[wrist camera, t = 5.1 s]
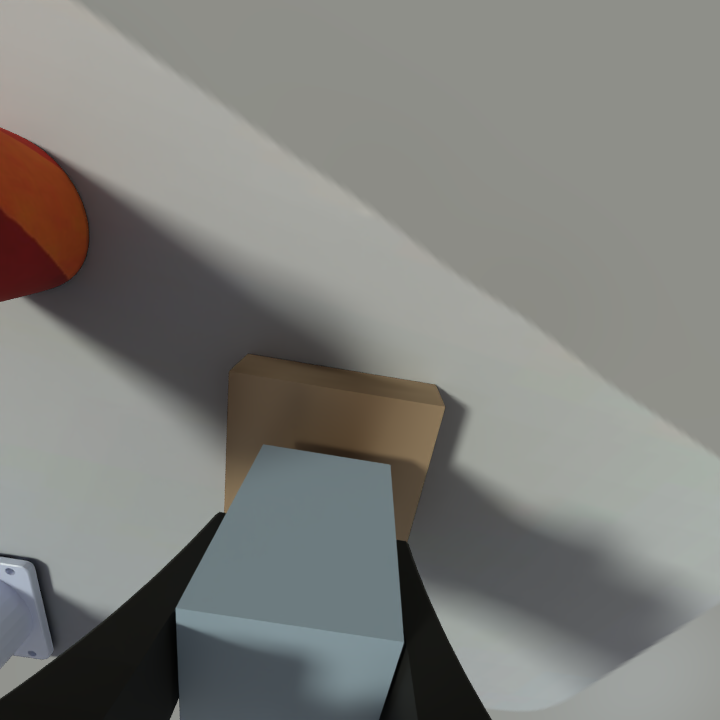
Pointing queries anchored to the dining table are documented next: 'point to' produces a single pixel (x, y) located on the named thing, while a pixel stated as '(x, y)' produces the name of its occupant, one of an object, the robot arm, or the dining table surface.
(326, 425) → the base
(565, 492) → the dining table surface
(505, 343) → the dining table surface
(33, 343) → the dining table surface
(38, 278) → the paper cup
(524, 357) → the dining table surface
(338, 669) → the block
